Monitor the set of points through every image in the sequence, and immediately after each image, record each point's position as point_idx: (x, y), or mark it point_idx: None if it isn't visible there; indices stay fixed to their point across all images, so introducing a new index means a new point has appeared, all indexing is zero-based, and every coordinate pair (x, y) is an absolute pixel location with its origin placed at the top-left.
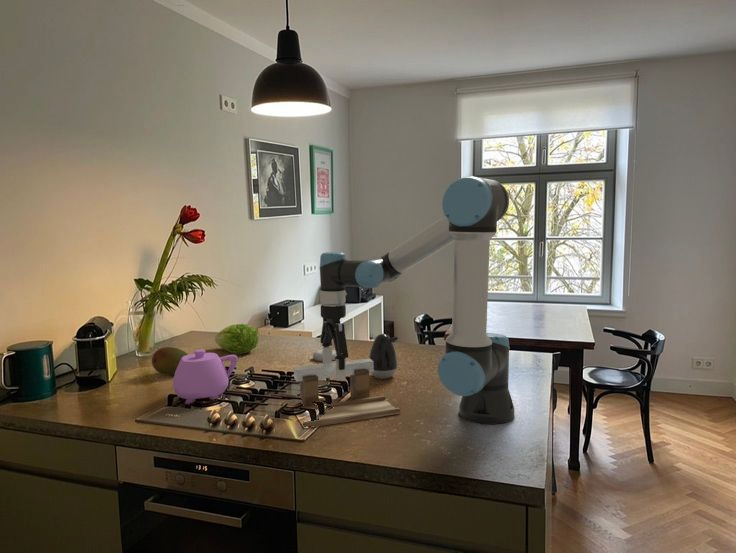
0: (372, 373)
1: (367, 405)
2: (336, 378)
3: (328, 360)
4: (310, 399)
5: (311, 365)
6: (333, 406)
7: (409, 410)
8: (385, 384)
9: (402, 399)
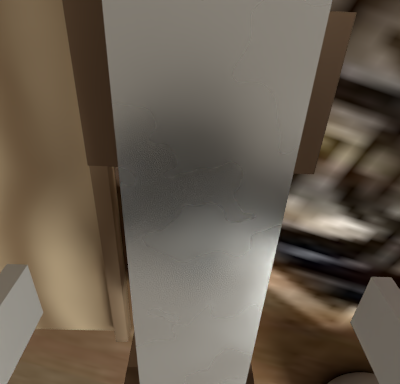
0: (366, 381)
1: (76, 272)
2: (5, 276)
3: (386, 359)
4: None
5: (267, 189)
6: None
7: None
8: (276, 369)
9: (117, 361)
